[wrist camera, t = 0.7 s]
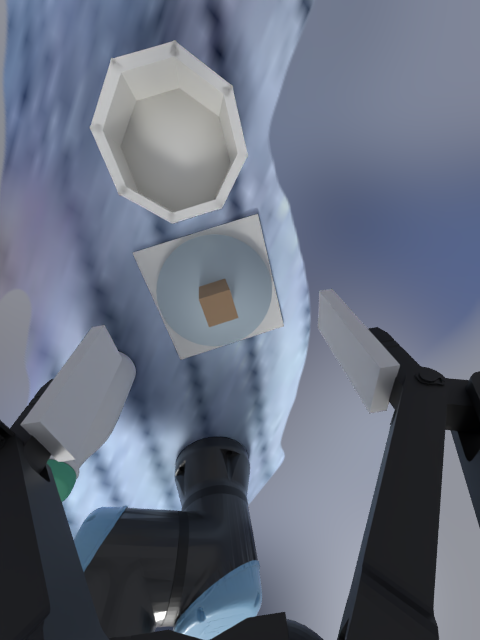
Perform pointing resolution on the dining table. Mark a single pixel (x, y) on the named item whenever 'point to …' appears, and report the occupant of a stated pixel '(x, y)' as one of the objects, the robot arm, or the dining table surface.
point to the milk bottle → (96, 428)
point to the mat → (239, 229)
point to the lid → (214, 290)
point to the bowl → (169, 132)
